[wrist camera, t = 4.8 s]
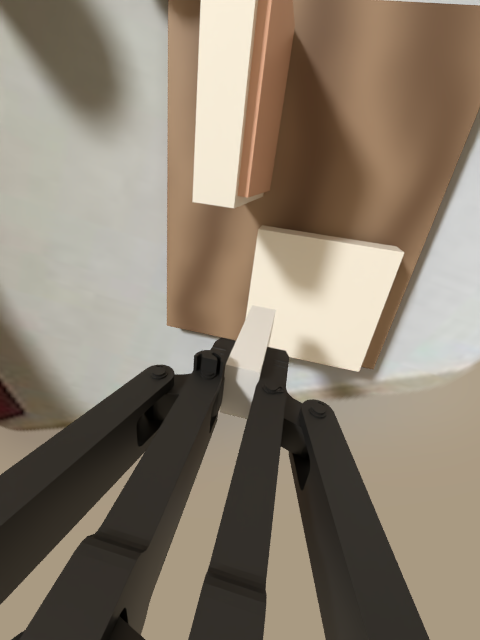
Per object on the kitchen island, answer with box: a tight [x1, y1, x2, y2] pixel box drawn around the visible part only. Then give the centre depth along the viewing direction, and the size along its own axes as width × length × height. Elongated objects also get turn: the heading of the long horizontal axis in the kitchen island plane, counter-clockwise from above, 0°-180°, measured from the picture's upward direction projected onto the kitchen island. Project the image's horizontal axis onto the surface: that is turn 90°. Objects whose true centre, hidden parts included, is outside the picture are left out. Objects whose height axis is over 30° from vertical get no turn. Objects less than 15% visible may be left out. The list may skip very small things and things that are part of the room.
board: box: [167, 0, 480, 369], centre depth 23 cm, size 20×24×2 cm
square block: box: [245, 225, 404, 372], centre depth 24 cm, size 2×10×10 cm
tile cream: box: [192, 0, 295, 208], centre depth 16 cm, size 2×10×10 cm, turn 173°
